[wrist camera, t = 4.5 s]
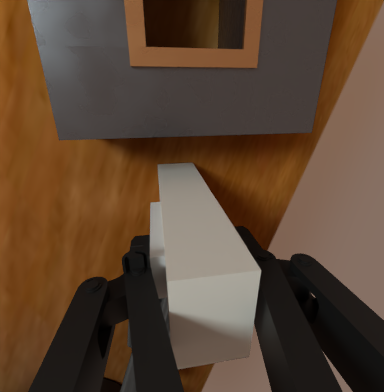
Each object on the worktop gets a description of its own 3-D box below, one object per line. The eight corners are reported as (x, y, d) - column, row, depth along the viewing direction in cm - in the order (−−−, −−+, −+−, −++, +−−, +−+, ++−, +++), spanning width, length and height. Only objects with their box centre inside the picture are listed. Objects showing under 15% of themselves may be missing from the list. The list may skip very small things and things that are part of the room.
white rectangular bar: (192, 207, 25) (249, 356, 10) (160, 209, 25) (172, 370, 10) (192, 162, 23) (261, 270, 9) (157, 164, 23) (167, 281, 8)
